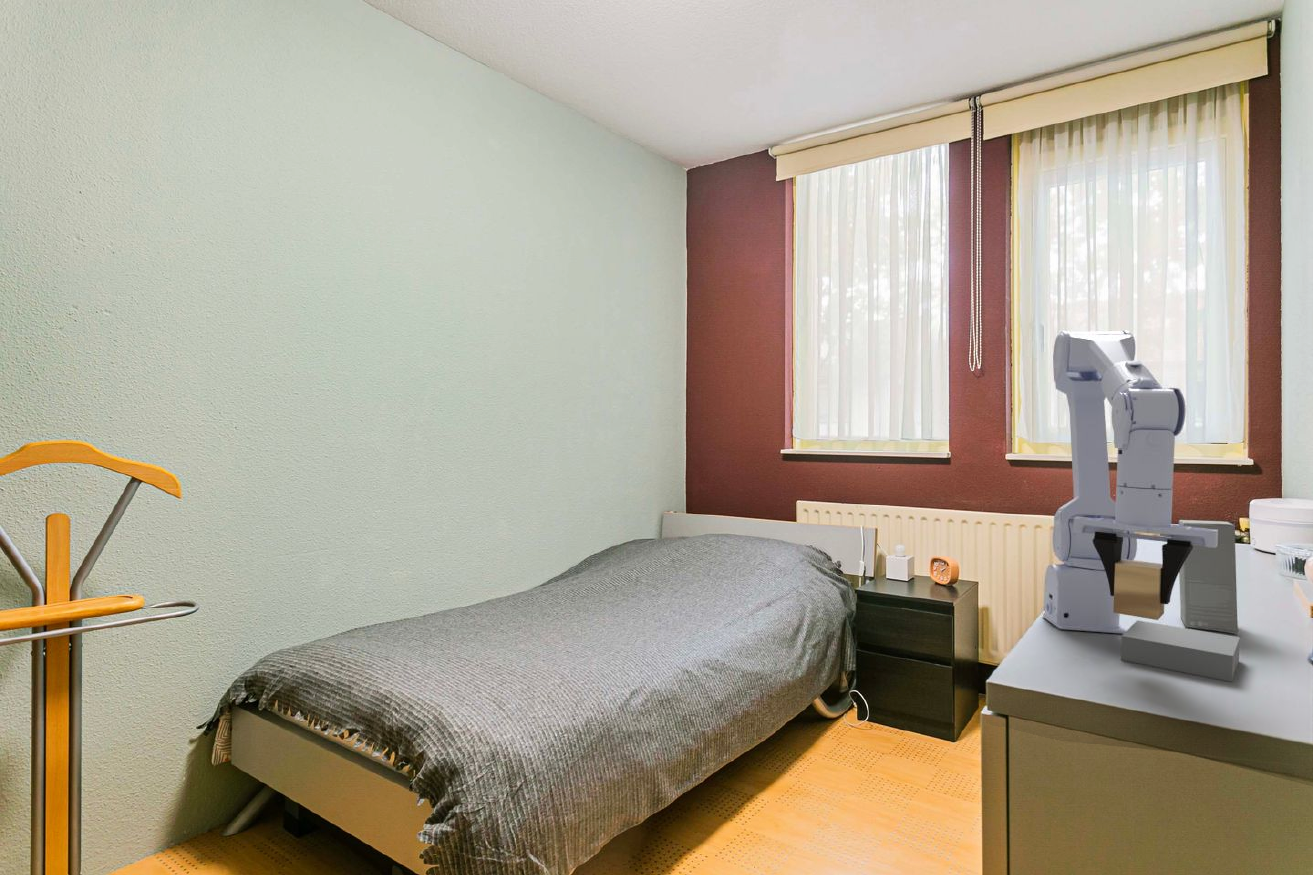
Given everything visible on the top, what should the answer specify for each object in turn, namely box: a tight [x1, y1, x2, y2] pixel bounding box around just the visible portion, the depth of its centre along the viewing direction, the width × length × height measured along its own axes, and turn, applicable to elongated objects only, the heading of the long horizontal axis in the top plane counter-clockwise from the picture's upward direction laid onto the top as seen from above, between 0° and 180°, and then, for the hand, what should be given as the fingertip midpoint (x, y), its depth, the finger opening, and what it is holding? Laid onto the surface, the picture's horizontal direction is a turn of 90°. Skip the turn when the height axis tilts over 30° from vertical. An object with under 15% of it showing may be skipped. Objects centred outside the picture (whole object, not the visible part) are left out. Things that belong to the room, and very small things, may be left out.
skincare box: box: [1178, 519, 1239, 635], centre depth 111 cm, size 8×7×16 cm
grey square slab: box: [1120, 619, 1241, 682], centre depth 93 cm, size 11×11×3 cm
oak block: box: [1113, 559, 1165, 621], centre depth 89 cm, size 4×4×6 cm
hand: (1139, 598), depth 89 cm, fingers closed on oak block, 4 cm apart
